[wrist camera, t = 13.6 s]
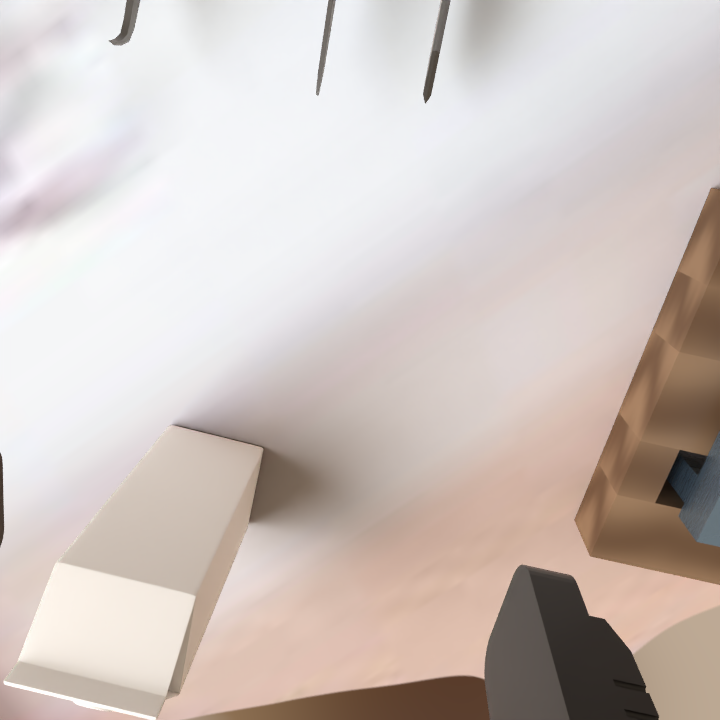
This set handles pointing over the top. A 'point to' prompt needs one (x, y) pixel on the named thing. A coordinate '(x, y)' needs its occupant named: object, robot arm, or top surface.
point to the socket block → (664, 425)
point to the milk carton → (143, 578)
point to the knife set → (133, 7)
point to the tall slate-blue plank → (699, 492)
